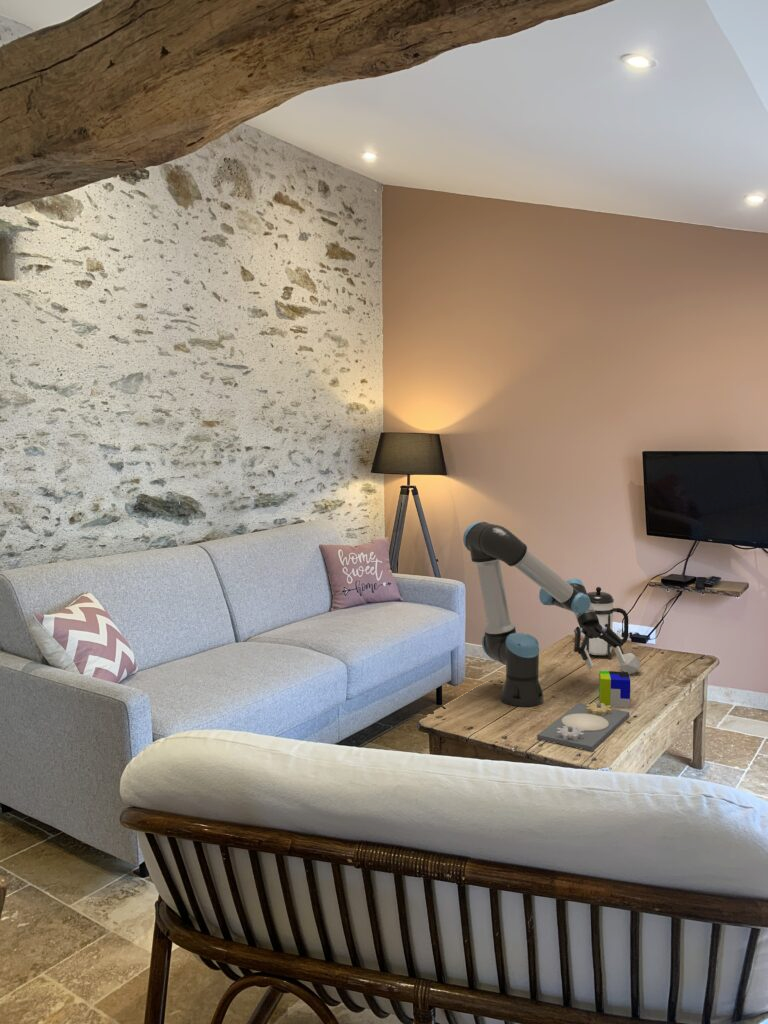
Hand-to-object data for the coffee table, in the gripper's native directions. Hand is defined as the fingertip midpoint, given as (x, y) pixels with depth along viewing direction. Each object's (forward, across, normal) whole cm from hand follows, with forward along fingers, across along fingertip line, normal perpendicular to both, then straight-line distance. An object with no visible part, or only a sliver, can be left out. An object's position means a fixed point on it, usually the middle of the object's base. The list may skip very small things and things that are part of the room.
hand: (607, 665), depth 300 cm
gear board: (+26, +25, +11) cm, 37 cm away
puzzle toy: (+14, +2, -2) cm, 14 cm away
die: (-6, -23, -22) cm, 33 cm away
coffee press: (-24, -27, -41) cm, 54 cm away
